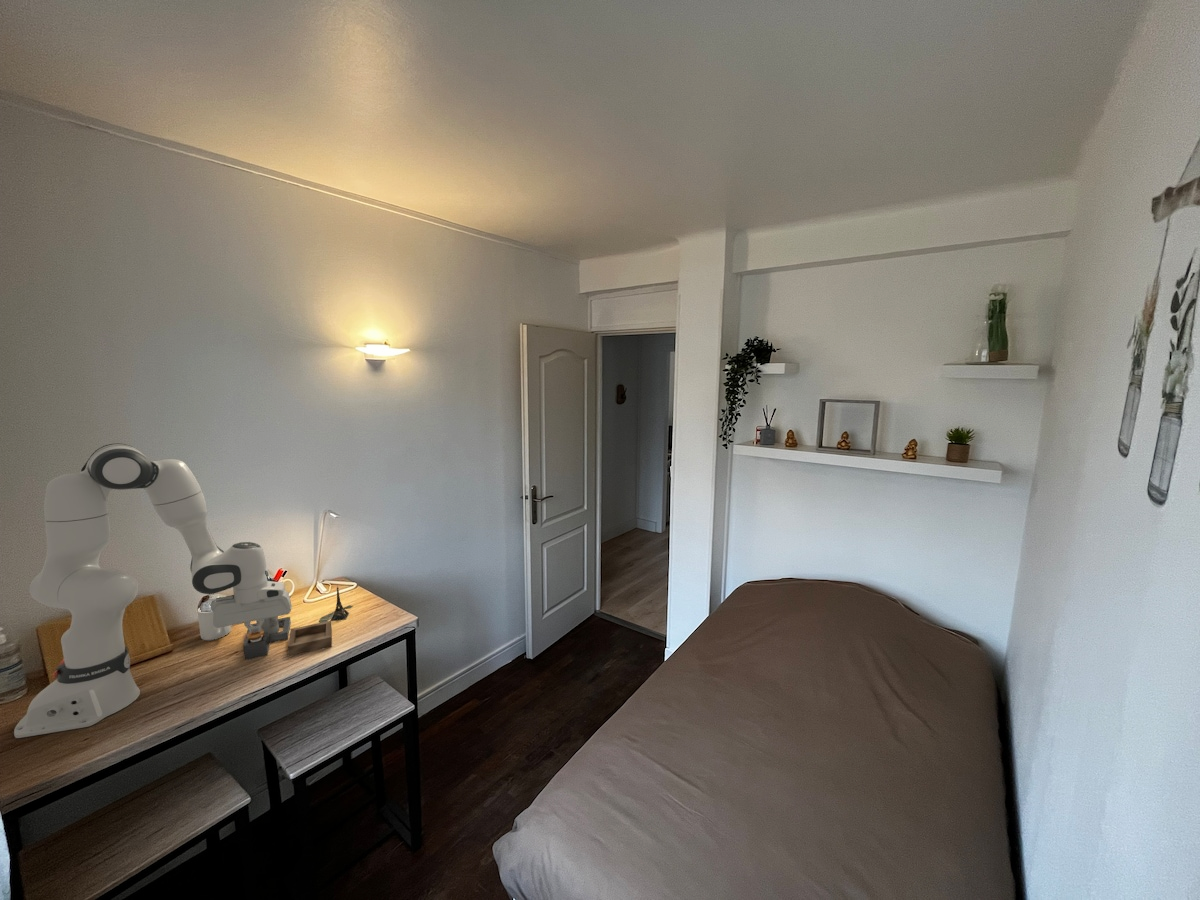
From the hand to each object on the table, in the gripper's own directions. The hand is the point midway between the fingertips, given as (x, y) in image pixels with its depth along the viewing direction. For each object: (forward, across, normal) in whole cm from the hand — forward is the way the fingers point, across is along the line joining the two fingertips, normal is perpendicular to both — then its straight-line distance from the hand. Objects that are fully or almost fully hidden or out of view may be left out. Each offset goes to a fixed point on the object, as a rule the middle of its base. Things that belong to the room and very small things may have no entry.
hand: (255, 632), depth 152 cm
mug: (+7, -13, +18) cm, 23 cm away
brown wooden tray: (+7, +15, -1) cm, 17 cm away
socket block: (+7, +2, +7) cm, 10 cm away
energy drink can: (+7, +2, +11) cm, 13 cm away
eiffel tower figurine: (+8, +23, +14) cm, 29 cm away
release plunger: (+6, 0, 0) cm, 6 cm away
